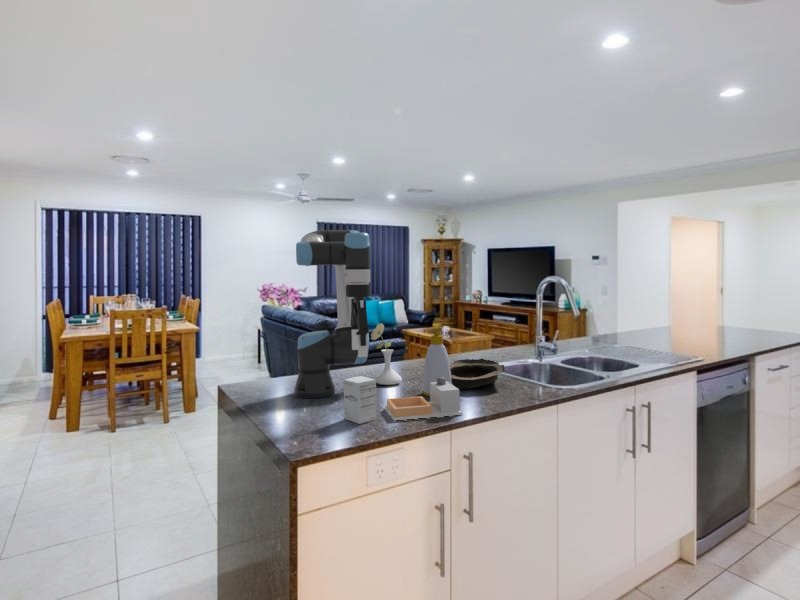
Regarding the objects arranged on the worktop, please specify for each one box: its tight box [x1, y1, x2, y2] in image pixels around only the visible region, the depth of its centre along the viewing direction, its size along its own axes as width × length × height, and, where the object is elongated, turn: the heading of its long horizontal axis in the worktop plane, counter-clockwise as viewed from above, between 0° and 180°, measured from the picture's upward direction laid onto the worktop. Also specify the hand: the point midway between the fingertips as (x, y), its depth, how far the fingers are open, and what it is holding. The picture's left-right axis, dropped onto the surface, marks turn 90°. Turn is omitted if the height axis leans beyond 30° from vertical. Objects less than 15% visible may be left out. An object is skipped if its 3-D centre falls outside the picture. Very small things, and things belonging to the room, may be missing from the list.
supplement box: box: [343, 375, 377, 425], centre depth 146 cm, size 7×7×13 cm
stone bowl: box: [450, 357, 505, 390], centre depth 187 cm, size 25×25×9 cm
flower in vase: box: [370, 323, 403, 386], centre depth 192 cm, size 13×11×25 cm
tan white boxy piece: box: [384, 377, 463, 422], centre depth 153 cm, size 22×14×10 cm, turn 103°
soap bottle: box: [422, 323, 453, 398], centre depth 175 cm, size 11×12×26 cm
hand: (359, 353), depth 146 cm, fingers open, 13 cm apart
